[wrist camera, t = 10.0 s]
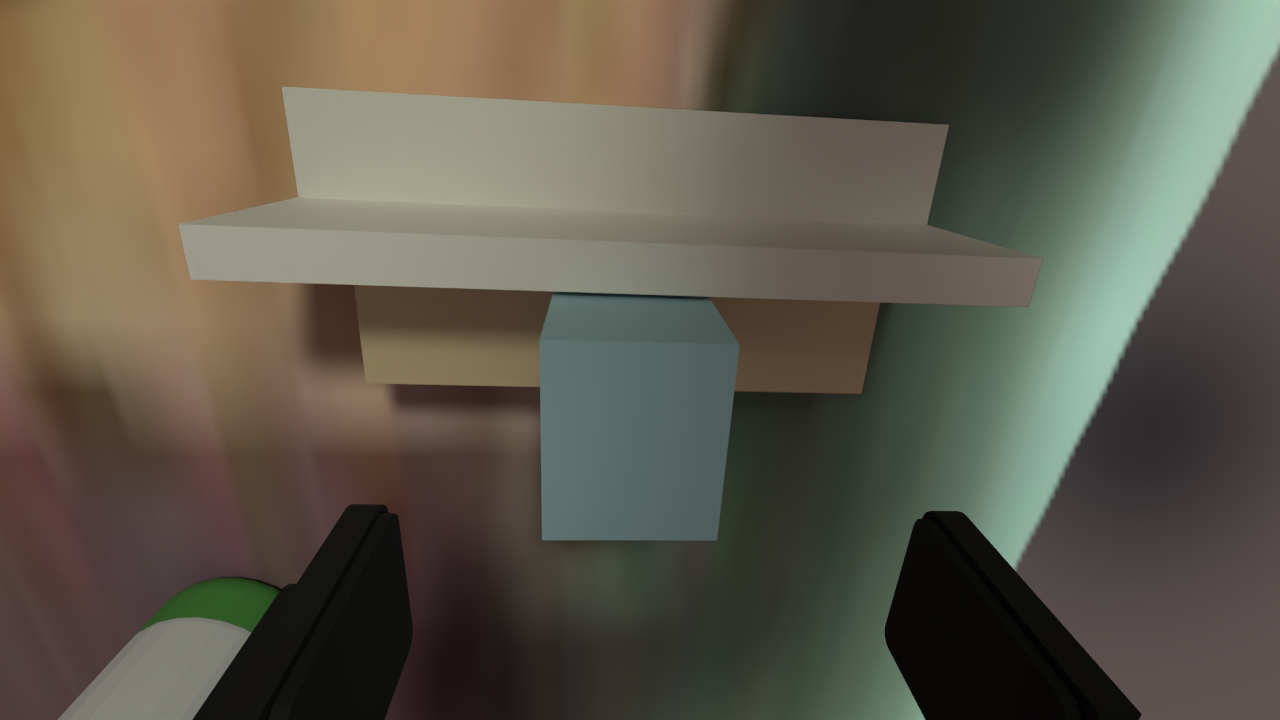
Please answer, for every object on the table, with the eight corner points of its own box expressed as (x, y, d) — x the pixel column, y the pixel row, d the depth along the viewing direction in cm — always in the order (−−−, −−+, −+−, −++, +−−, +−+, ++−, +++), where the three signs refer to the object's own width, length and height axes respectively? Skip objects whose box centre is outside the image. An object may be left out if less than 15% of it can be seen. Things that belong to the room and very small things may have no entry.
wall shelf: (292, 88, 23) (143, 68, 15) (938, 125, 25) (1082, 123, 17) (330, 346, 27) (225, 430, 19) (887, 360, 29) (988, 441, 21)
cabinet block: (560, 268, 22) (539, 339, 15) (693, 273, 22) (739, 344, 15) (560, 439, 25) (542, 574, 17) (679, 441, 25) (713, 574, 18)
